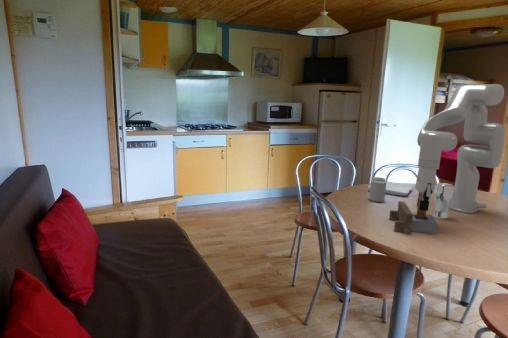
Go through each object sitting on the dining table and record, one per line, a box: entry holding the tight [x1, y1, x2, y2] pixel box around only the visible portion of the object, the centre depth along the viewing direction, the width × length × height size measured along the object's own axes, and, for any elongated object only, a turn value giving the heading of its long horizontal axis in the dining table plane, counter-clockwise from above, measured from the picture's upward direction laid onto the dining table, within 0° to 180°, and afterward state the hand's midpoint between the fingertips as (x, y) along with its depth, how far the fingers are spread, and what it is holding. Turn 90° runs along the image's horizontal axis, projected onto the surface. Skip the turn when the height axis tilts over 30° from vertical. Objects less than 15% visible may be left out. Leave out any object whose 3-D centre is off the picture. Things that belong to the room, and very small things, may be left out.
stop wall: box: [388, 200, 413, 235], centre depth 142 cm, size 6×18×8 cm, turn 166°
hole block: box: [411, 212, 438, 235], centre depth 140 cm, size 10×10×4 cm
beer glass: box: [432, 182, 455, 220], centre depth 154 cm, size 7×7×15 cm
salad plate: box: [367, 181, 414, 197], centre depth 199 cm, size 21×21×3 cm
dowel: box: [416, 191, 427, 217], centre depth 138 cm, size 3×3×12 cm
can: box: [368, 176, 387, 203], centre depth 177 cm, size 8×8×12 cm
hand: (422, 208), depth 139 cm, fingers closed on dowel, 3 cm apart
